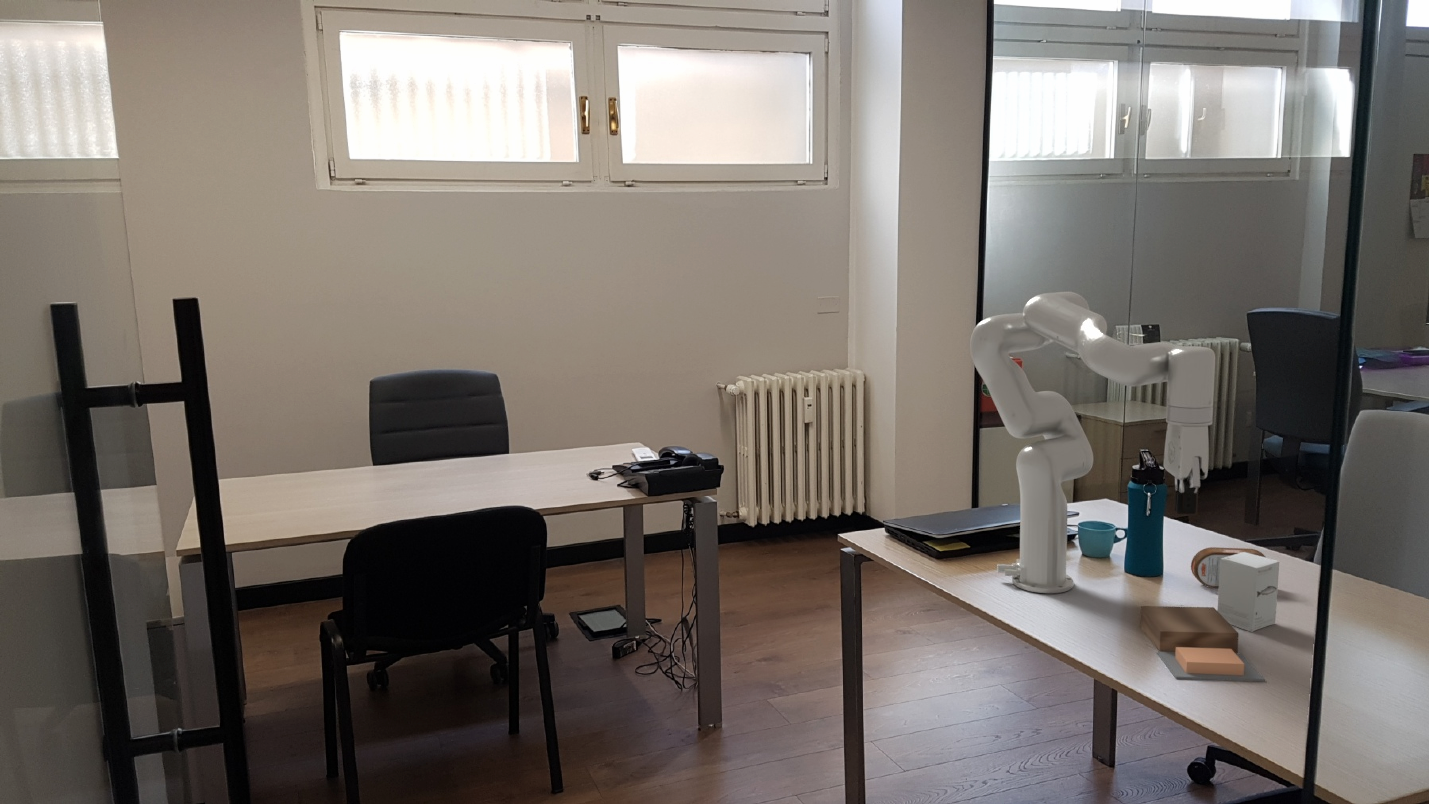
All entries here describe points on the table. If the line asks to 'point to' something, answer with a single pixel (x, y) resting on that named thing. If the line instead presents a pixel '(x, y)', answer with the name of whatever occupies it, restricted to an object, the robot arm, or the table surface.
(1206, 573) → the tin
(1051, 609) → the table surface
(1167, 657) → the mat
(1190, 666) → the orange block
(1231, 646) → the wooden block
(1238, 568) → the supplement box
